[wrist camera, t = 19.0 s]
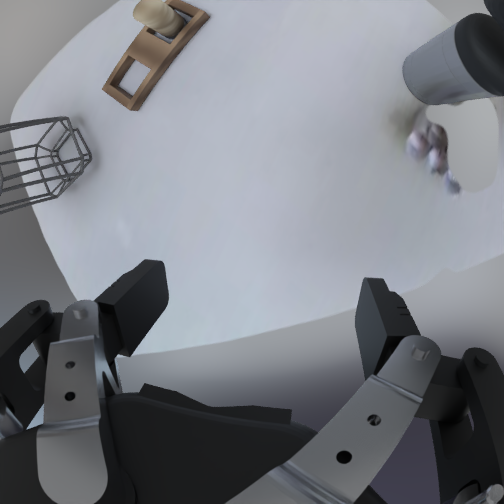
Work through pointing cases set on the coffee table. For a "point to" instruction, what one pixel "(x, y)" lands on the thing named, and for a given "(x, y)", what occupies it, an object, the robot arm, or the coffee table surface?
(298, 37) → the coffee table surface
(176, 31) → the banded peg
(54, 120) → the geometric lantern
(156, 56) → the socket block
